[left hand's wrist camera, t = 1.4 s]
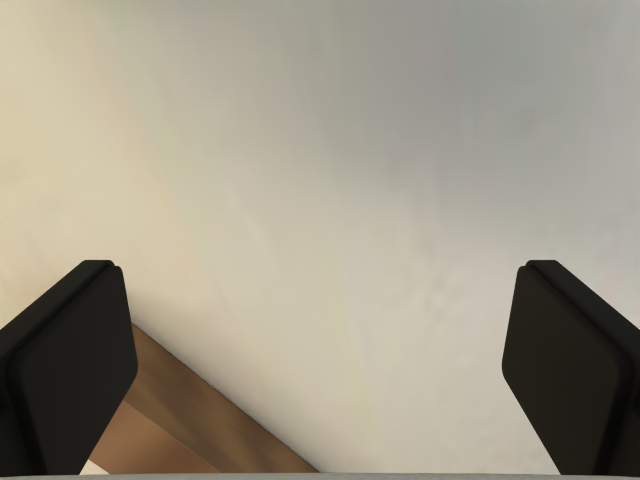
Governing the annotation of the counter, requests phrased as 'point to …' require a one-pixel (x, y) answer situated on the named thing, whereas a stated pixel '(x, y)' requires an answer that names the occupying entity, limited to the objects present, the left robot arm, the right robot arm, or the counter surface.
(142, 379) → the post
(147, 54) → the counter surface
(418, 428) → the counter surface
